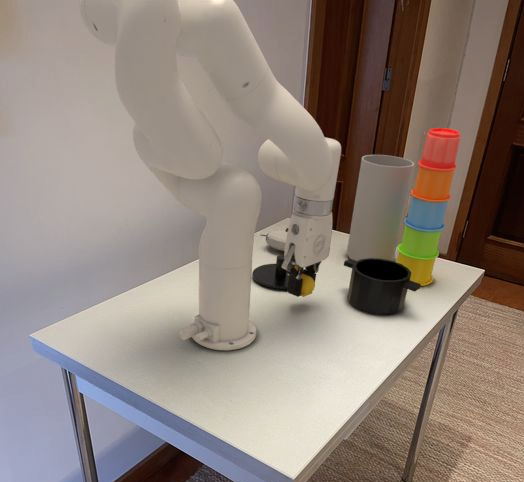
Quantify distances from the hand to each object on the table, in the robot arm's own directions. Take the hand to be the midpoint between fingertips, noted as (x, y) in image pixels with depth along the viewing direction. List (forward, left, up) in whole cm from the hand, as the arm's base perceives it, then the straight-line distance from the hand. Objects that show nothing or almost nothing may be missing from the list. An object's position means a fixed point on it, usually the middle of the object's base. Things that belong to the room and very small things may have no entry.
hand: (300, 290), depth 112 cm
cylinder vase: (+37, +5, -4) cm, 38 cm away
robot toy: (+26, +23, -4) cm, 35 cm away
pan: (+15, -10, -4) cm, 19 cm away
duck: (0, 0, 0) cm, 0 cm away
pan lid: (+8, +12, -3) cm, 15 cm away
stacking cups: (+34, -9, -4) cm, 35 cm away
